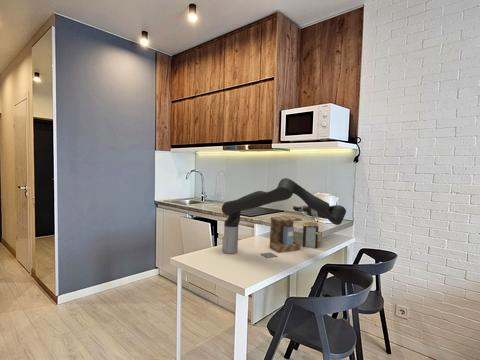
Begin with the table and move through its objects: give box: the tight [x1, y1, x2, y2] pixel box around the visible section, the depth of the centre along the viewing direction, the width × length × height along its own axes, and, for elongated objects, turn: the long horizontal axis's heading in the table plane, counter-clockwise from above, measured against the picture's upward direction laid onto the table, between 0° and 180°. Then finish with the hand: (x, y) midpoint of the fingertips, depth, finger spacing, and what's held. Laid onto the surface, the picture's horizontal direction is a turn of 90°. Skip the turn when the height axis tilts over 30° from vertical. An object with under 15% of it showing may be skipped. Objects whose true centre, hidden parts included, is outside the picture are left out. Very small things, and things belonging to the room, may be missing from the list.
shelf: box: [269, 215, 303, 254], centre depth 191 cm, size 18×11×22 cm, turn 116°
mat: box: [260, 251, 278, 259], centre depth 177 cm, size 8×8×1 cm
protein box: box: [302, 221, 319, 249], centre depth 205 cm, size 10×15×16 cm
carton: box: [283, 226, 295, 245], centre depth 190 cm, size 5×5×12 cm
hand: (298, 207), depth 181 cm, fingers open, 8 cm apart
